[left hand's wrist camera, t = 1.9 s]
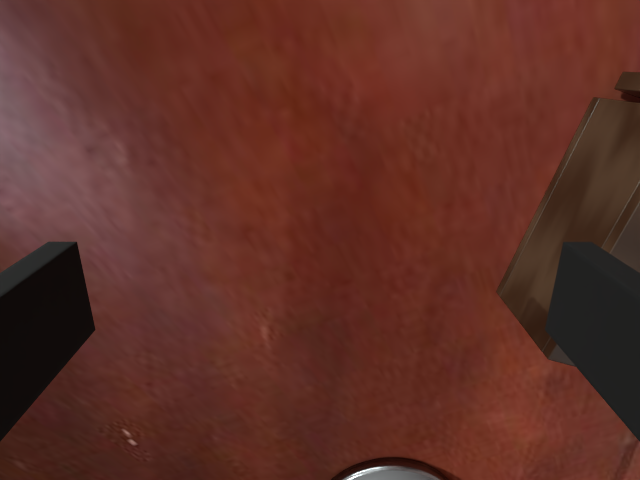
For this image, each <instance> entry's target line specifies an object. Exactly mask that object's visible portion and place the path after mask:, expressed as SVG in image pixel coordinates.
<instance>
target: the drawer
mask: <svg viewBox="0 0 640 480" xmlns="http://www.w3.org/2000/svg"><path fill="white" fill-rule="evenodd" d="M615 89H616V90H619V91H621V92H624V93H627V94H630V95H633V96H636V97H639V98H640V72H623V73H622V75H621V77H620V79H619V80H618V82H617V84H616V86H615Z"/></svg>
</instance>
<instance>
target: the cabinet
mask: <svg viewBox="0 0 640 480" xmlns="http://www.w3.org/2000/svg"><path fill="white" fill-rule="evenodd" d="M563 242H593V243H594V244H596V245H597V246H599V247H600V248H602V249H603V250H605V251H606V252H608V253H610V254H611V255H613V256H614V257H616V258H617V259H619V260H620V261H622V262H623V263H625V264H626V265H628V266H630V267H631V268H633V269H634V270H636V271H637V272H639V273H640V103H635V102H627V101H620V100H612V99H604V98H596V97H594V98H593V99H592V101H591V103H590V105H589V107H588V109H587V111H586V113H585V115H584V117H583V119H582V121H581V123H580V125H579V127H578V129H577V131H576V133H575V135H574V137H573V139H572V141H571V143H570V145H569V147H568V149H567V151H566V153H565V155H564V157H563V159H562V161H561V163H560V165H559V167H558V169H557V171H556V173H555V175H554V177H553V179H552V181H551V183H550V185H549V187H548V189H547V191H546V193H545V195H544V197H543V199H542V201H541V203H540V205H539V207H538V209H537V211H536V213H535V215H534V217H533V219H532V221H531V223H530V225H529V227H528V229H527V231H526V233H525V235H524V237H523V239H522V241H521V243H520V245H519V247H518V249H517V251H516V253H515V255H514V257H513V259H512V261H511V263H510V265H509V267H508V269H507V271H506V273H505V275H504V277H503V279H502V281H501V283H500V285H499V287H498V289H497V293H498V295H499V296H500V297H501V299H502V300H503V301H504V303H505V304H506V305H507V307H508V308H509V309H510V310H511V312H512V313H513V314H514V316H515V317H516V318H517V320H518V321H519V322H520V324H521V325H522V326H523V327H524V329H525V330H526V331H527V333H528V334H529V335H530V337H531V338H532V339H533V340H534V342H535V343H536V344H537V346H538V347H539V348H540V350H541V351H542V352H543V353H544V355H545V356H546V357H547V359H549V360H552V361H556V362H560V363H564V364H567V365H571V366H575V365H574V364H573V362H572V361H571V360H570V359H569V358H568V357H567V355H566V354H565V353H564V352H563V351H562V349H561V348H560V347H559V346H558V345H557V344H556V342H555V341H554V340H553V339H552V338H551V337H550V335H549V334H548V333H547V332H546V331H545V326H546V321H547V316H548V312H549V307H550V302H551V297H552V293H553V288H554V283H555V278H556V274H557V269H558V264H559V259H560V255H561V250H562V245H563ZM575 367H576V366H575Z"/></svg>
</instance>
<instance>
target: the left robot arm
mask: <svg viewBox="0 0 640 480" xmlns="http://www.w3.org/2000/svg"><path fill="white" fill-rule="evenodd" d="M94 331H95V326H94V321H93V316H92V312H91V307H90V302H89V297H88V293H87V288H86V283H85V278H84V274H83V269H82V264H81V259H80V255H79V250H78V245H77V242H47V243H46V244H44V245H43V246H41V247H40V248H38V249H37V250H35V251H34V252H32V253H30V254H29V255H27V256H26V257H24V258H23V259H21V260H20V261H18V262H17V263H15V264H14V265H12V266H10V267H9V268H7V269H6V270H4V271H3V272H1V273H0V441H1V440H2V439H3V438H4V436H5V435H6V434H7V433H8V432H9V431H10V429H11V428H12V427H13V426H14V425H15V423H16V422H17V421H18V420H19V419H20V418H21V416H22V415H23V414H24V413H25V412H26V411H27V409H28V408H29V407H30V406H31V405H32V404H33V402H34V401H35V400H36V399H37V398H38V396H39V395H40V394H41V393H42V392H43V391H44V389H45V388H46V387H47V386H48V385H49V384H50V382H51V381H52V380H53V379H54V378H55V376H56V375H57V374H58V373H59V372H60V371H61V369H62V368H63V367H64V366H65V365H66V364H67V362H68V361H69V360H70V359H71V358H72V357H73V355H74V354H75V353H76V352H77V351H78V349H79V348H80V347H81V346H82V345H83V344H84V342H85V341H86V340H87V339H88V338H89V337H90V335H91V334H92V333H93V332H94ZM545 331H546V332H547V333H548V334H549V335H550V337H551V338H552V339H553V340H554V341H555V342H556V344H557V345H558V346H559V347H560V348H561V349H562V351H563V352H564V353H565V354H566V355H567V357H568V358H569V359H570V360H571V361H572V362H573V364H574V365H575V366H576V367H577V368H578V369H579V371H580V372H581V373H582V374H583V375H584V376H585V378H586V379H587V380H588V381H589V382H590V384H591V385H592V386H593V387H594V388H595V389H596V391H597V392H598V393H599V394H600V395H601V396H602V398H603V399H604V400H605V401H606V402H607V404H608V405H609V406H610V407H611V408H612V409H613V411H614V412H615V413H616V414H617V415H618V416H619V418H620V419H621V420H622V421H623V422H624V423H625V425H626V426H627V427H628V428H629V429H630V431H631V432H632V433H633V434H634V435H635V436H636V438H637V439H638V440H639V441H640V273H639V272H637V271H636V270H634V269H633V268H631V267H630V266H628V265H626V264H625V263H623V262H622V261H620V260H619V259H617V258H616V257H614V256H613V255H611V254H610V253H608V252H606V251H605V250H603V249H602V248H600V247H599V246H597V245H596V244H594V243H593V242H563V245H562V250H561V255H560V259H559V264H558V269H557V274H556V278H555V283H554V288H553V293H552V297H551V302H550V307H549V312H548V316H547V321H546V326H545ZM331 480H448V479H447V478H446V477H445V476H444V475H443V474H441V473H440V472H439V471H437V470H436V469H434V468H432V467H430V466H428V465H426V464H423V463H420V462H417V461H413V460H408V459H401V458H382V459H374V460H369V461H365V462H362V463H359V464H356V465H353V466H351V467H349V468H347V469H345V470H343V471H342V472H340V473H339V474H337V475H336V476H335V477H333V478H332V479H331Z"/></svg>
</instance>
